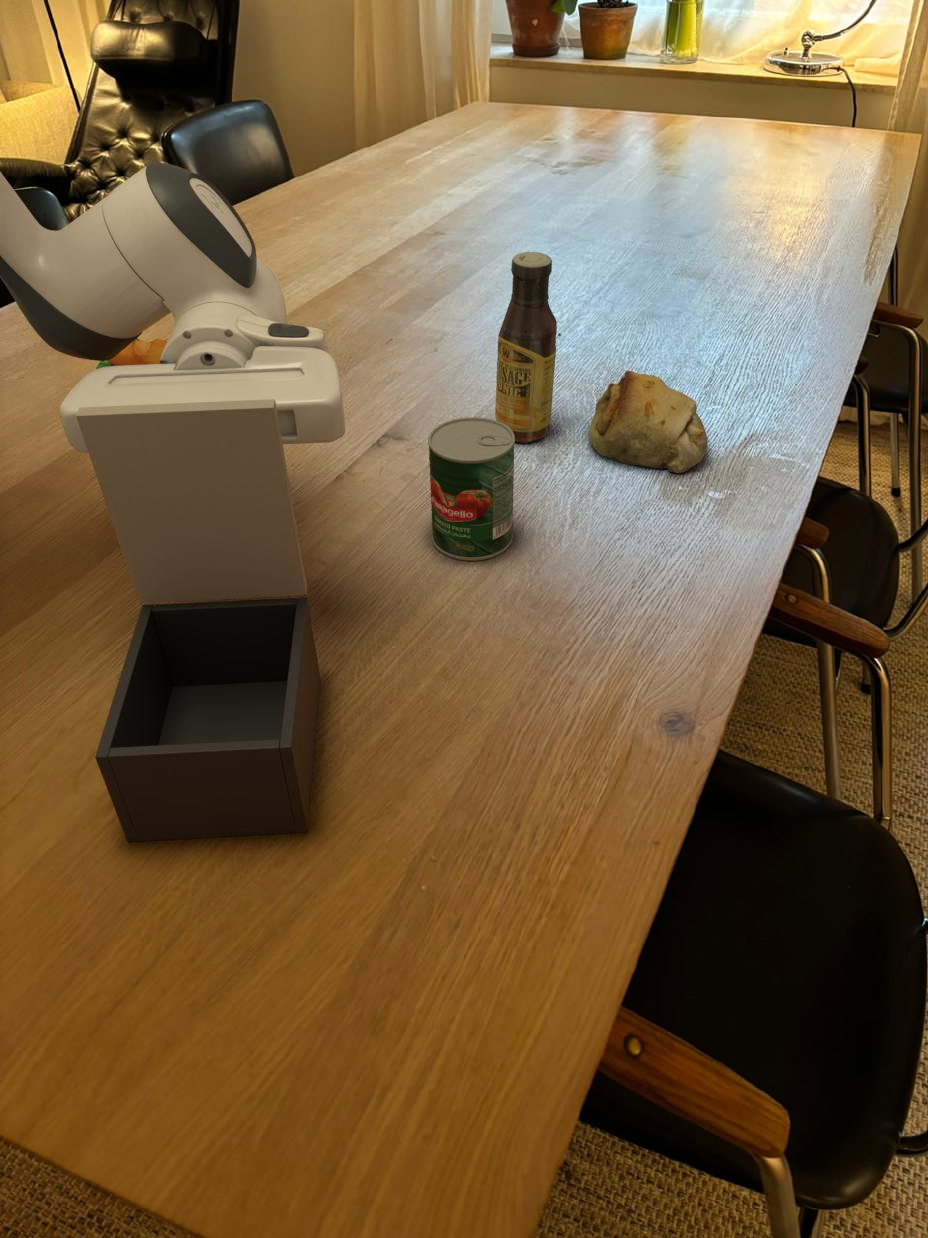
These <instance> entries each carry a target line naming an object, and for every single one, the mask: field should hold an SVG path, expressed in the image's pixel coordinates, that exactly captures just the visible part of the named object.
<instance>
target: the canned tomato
mask: <svg viewBox="0 0 928 1238" xmlns="http://www.w3.org/2000/svg"><path fill="white" fill-rule="evenodd" d="M515 443H516V441H515V435H514V433H513V431H512V430H511V429H510V428H509V427H508V426H506V425H505V424H503V423H501V422H498V421H496V419H492V418H486V417H479V416H472V417H471V416H467V417H458V418H454V419H450V420H447V421H445V422H442V423H441V424H439V425H436V427H435V428H433V429H432V430H431V432H430V433H429V435H428V438H427V445H428V460H429V482H430V483H429V484H430V505H431V506H430V507H431V508H430V510H431V511H430V512H431V528H432V529H431V530H432V533H431V540H432V543H433V545H434V547H435V548H436V550H437V551H439V552H440V553H441V554H443V555H445V556H446V557H449V558H451V559H455V560H458V561H466V562H477V561H484V560H485V561H486V560H488V559H492V558H495V557H496V556H499V555H501V554H503V553H504V552H505V551H507V550H508V548H509V547H510V546H511V544H512V543H513V539H514V533H513V526H514V524H513V523H514V489H515V484H514V481H515V477H514V475H515Z"/></svg>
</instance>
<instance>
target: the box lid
mask: <svg viewBox="0 0 928 1238" xmlns="http://www.w3.org/2000/svg"><path fill="white" fill-rule="evenodd" d="M76 417H77V420H78V423H79V426H80V429H81V432H82V435H83V438H84V441H85V444H86V447H87V450H88V455H89V459H90V461H91V464H92V467H93V470H94V473H95V476H96V479H97V482H98V485H99V488H100V491H101V493H102V497H103V500H104V503H105V505H106V509H107V512H108V515H109V518H110V521H111V523H112V526H113V529H114V532H115V535H116V537H117V541H118V544H119V547H120V551H121V553H122V555H123V558H124V560H125V564H126V567H127V571H128V573H129V577H130V579H131V582H132V585H133V588H134V591H135V594H136V597H137V600H138V603H139V604H149V603H150V604H151V603H167V602H190V601H192V602H193V601H208V600H209V601H210V600H232V599H233V600H235V599H253V598H274V597H275V598H276V597H293V596H295V597H296V596H306V595H307V593H308V583H307V578H306V571H305V567H304V566H305V565H304V560H303V553H302V548H301V543H300V536H299V530H298V526H297V520H296V514H295V507H294V503H293V497H292V496H293V495H292V490H291V486H290V485H291V484H290V480H289V474H288V468H287V462H286V455H285V450H284V444H282V438H281V432H280V426H279V420H278V415H277V409H276V403H275V399H268V400H244V401H221V402H197V403H174V404H150V405H127V406H103V407H80V408H79V410H78V412H77V414H76Z"/></svg>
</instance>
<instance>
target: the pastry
mask: <svg viewBox="0 0 928 1238" xmlns="http://www.w3.org/2000/svg"><path fill="white" fill-rule="evenodd" d="M697 410H698V409H697V402H696V400H695V399H694V398H692V397H690V396H689V395H686V394H685V393H684V392H682V391H679V390H676V389H673V388H671V387H670V386H668V385H667V384H666V382H664V380H663V378H661V377H658V376H656V375H654V374H646V373H640V372H639V373H638V372H635V371H632V370H626V371H625V373H624V375H623V376H621V378H620V380H619V381H618V382H617V383H616V384H615V383H609V384H608V385H607V388H606V390H604V392H603V393H602V396H600V397H599V398H598V400H597V402H596V405H595V411H594V414H593V418H592V419H591V423H590V426H589V430H588V437H589V441H590V444H591V445H592V447H593V448H594V449H595V451H596V453H598V454H600V455H601V456H602V457H605V458H609V459H610V460H613V461H617V462H619V463H622V464H628V465H634V466H640V467H645V468H650V469H661V470H662V469H667V471H668V472H669V473H676V474H682V473H685V472H687V471H688V470H690V469H691V468H692V467H694V466H696V465H697V464H699V463H700V462H701V461H702V460H703V458H704V456H705V454H706V453H707V448H708V440H709V439H708V435H707V431H706V428H705V426H704V424H703V421H702V419H701V418H700V416H699V414H698V413H697Z"/></svg>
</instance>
